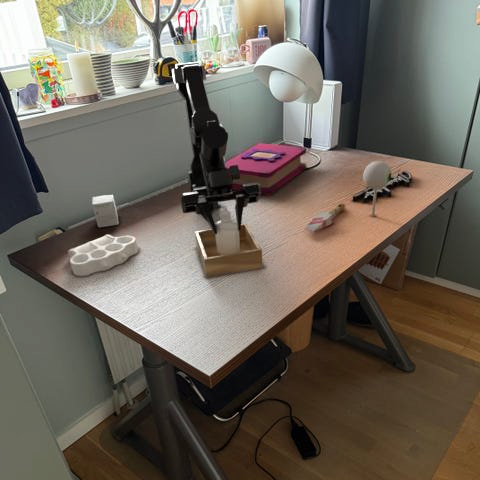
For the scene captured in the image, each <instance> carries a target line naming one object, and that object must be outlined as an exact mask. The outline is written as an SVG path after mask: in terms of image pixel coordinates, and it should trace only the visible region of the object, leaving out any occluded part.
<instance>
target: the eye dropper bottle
mask: <svg viewBox="0 0 480 480" xmlns="http://www.w3.org/2000/svg"><path fill="white" fill-rule="evenodd" d="M231 217H232V216H231V211H230V210H228V208H227V206H226V205H223V206H222V210H221V211H220V212H219V219H220V220H217V221H216V222H215V225H216V230H217V234H216V235H215V237H216V246H217V252H218V253H219V254H221V255H225V254H231V253H237V252H240V240H239V229H238V224H237V221H234V220H232V218H231Z"/></svg>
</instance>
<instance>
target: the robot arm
mask: <svg viewBox="0 0 480 480" xmlns="http://www.w3.org/2000/svg"><path fill="white" fill-rule="evenodd" d="M171 74H172V81H173V84H174V85H176V90H177V92H178V93H179V95H180V96H181V97H182V99H183V101H184V106H185V111H186V118H187V124H188V130H189V137H190V144H191V145H190V146H191V150H192V157H191V160H190V163H189V171H188V174H187V179H188V180H187V182H188V188H189V190H190V192H189V191H188V192H184V193H182V194H181V195H180V204H181V205H180V206H181V211H182V213H183V214H189V213H195V214H196V215H200V216H201V217H202V218H203V219H204V220H205V222H206V223H207V224H208V225H209V227H210V229H212V230H213V232H214V233H215V235H216V234H217V230H216V225H215V224H216V222H215V219H214V216H213V213H212V212H213V211H215V210H217V209H218V208H220V207H221V202H227V201H235V206H234V210H235V211H234V212H235V218H236V219H235V220H236V223H237V224H238V229H239V231H240V230H241V224H242V220H243V211H244V208H247V207H248V204H255V203H257V202H259V201H260V197H261V195H262V194H261V188H260V185H259V184H258V183H250V184H243V186H242V190H234V189H233V181H234V180H239V179H240V172H239V167H238V165H232V166H230V167H229V170H227V167H226V163H225V162H226V158H225V156H226V153H227V147H228V141H229V132H228V130H227V129H225V127H224V125H223V124H222V123H221V122H220V120H219V117H218V114H217V113H216V112H214V111H213V110H212V109H211V107H210V103H209V99H208V95H207V90H206V86H205V83H204V82H205V81H207V74H206V65H205V64H203V65H202V64H200V63H199V61H193V62H183V63H176V64H175V68H172V69H171ZM232 190H233V191H232Z"/></svg>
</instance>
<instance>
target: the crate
mask: <svg viewBox="0 0 480 480" xmlns="http://www.w3.org/2000/svg"><path fill="white" fill-rule="evenodd" d="M194 235H195V243H196V249H197V252H198V256H199V259H200V262H201V264H202V267H203V270H204V273H205V277H206V278H212V277H218V276H223V275H229V274H234V273H241V272H245V271H252V270H259V269H262V268H264V267H263V266H264V265H263V249H262V247H261V246H260V244H259V242H258V240H257V239H256V237H255V235H254V233H253V232H252V230H251V229H250V227H249V225H248V223H246V222H244V223H241V230H240V231H239V240H240V252H237V253H231V254H225V255H221V254H219V253H218V252H217V246H216V237H215V233H214V232H213V230H212V229H211V228H207V229H202V230H196V231H194Z"/></svg>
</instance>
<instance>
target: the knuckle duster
mask: <svg viewBox="0 0 480 480" xmlns="http://www.w3.org/2000/svg"><path fill="white" fill-rule="evenodd" d="M137 253H139V248H138V243H137V239H136V237H135V236H133V235H120V236H112V234H104V236H101V237H98V238H96V239H94V240H91V241H87V242H86V243H83V244H81V245H79V246H75V247H73V248H70V249H68V250H67V254H68V256H69V258H70V259H69V263H70V267H71V270H72V273H73V274H74V275H75V276H78V277H87V276H89V275H91V274H94V273H97V272H104V271H107V270H110V269H111V268H113V267H115V266H117V265H122V264H123V263H125V262H127V260H128V259H129V258H130V257H131V256H134V255H136V254H137Z"/></svg>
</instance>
